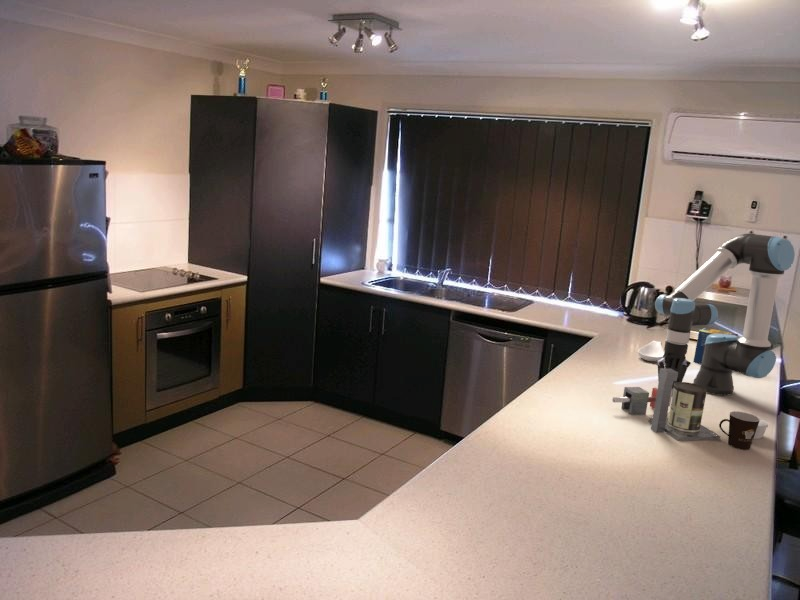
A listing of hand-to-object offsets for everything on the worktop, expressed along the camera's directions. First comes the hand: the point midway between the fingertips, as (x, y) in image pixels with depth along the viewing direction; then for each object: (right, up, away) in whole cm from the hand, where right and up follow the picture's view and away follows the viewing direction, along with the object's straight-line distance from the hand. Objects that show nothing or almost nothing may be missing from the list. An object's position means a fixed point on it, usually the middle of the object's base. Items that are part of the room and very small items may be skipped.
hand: (665, 404), depth 239 cm
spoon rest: (+24, +10, +75) cm, 80 cm away
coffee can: (-1, -5, -17) cm, 17 cm away
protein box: (+51, +8, +72) cm, 88 cm away
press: (-4, -4, -12) cm, 13 cm away
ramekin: (+21, -8, -15) cm, 27 cm away
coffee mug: (+12, -9, -26) cm, 30 cm away
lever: (-12, -2, -3) cm, 12 cm away
